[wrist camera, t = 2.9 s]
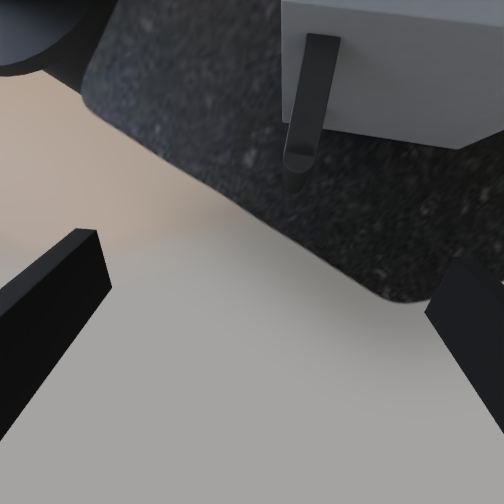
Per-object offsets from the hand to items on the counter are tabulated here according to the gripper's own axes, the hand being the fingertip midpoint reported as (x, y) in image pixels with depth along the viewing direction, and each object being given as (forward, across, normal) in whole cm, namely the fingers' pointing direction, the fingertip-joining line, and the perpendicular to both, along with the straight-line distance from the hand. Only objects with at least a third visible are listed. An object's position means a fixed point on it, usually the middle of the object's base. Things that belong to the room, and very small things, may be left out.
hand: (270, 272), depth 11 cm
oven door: (+16, +8, 0) cm, 18 cm away
